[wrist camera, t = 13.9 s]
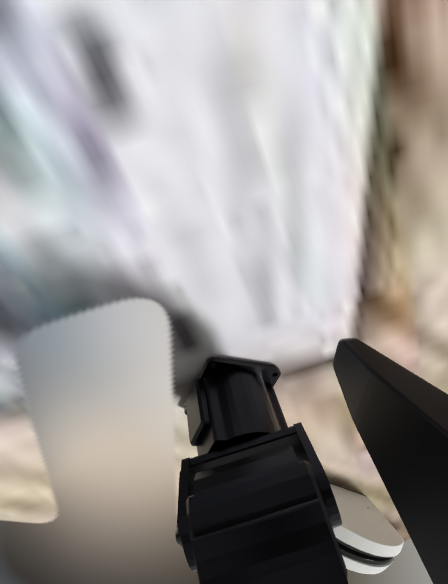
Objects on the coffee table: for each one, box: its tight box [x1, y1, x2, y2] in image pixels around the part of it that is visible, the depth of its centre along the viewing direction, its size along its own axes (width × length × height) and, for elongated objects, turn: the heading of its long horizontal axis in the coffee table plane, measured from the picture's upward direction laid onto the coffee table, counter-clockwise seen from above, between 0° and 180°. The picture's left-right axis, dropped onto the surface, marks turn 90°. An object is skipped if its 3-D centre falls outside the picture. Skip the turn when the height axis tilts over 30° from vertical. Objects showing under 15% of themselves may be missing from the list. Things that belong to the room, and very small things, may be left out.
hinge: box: [330, 484, 404, 574], centre depth 40 cm, size 17×5×10 cm, turn 48°
